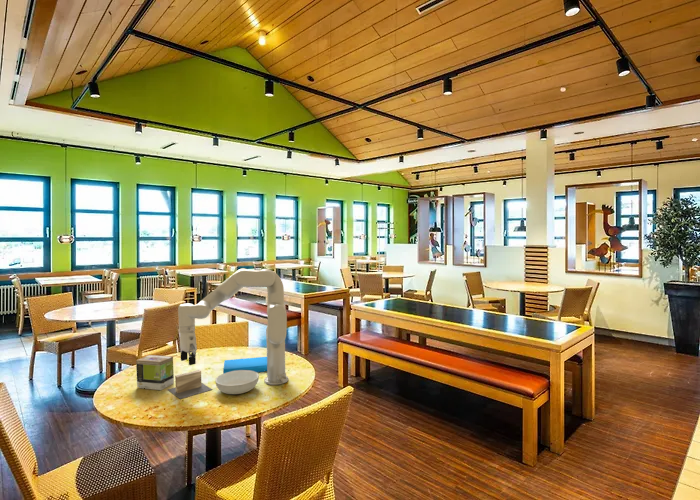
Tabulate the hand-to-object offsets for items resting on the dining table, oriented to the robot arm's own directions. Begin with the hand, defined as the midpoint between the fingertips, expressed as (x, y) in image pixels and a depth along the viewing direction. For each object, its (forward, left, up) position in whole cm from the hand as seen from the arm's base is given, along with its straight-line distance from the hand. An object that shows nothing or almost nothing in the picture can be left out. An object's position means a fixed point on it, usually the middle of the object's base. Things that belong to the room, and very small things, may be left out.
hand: (188, 362), depth 204 cm
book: (+8, -37, -15) cm, 40 cm away
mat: (-1, 0, -14) cm, 14 cm away
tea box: (+18, +10, -14) cm, 25 cm away
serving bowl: (-18, -17, -14) cm, 29 cm away
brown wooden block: (0, 0, -14) cm, 14 cm away
